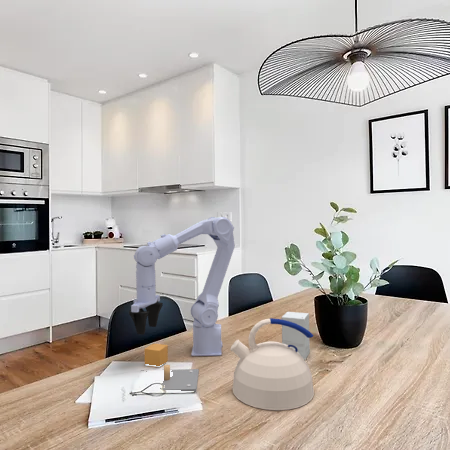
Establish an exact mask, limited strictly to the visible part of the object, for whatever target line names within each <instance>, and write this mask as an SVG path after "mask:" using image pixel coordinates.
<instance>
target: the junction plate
mask: <svg viewBox="0 0 450 450" xmlns="http://www.w3.org/2000/svg"><path fill="white" fill-rule="evenodd" d="M144 370H145V369H141V370H140V372H141V371H144ZM163 370H164V381H163V383H162V385H163V386H164V385H165V388H163V390H181V391H194V392H196V393H197V390H198V389H197V388H198V382H199V376H200V375H199V374H200V373H199V371H200V370H199V368H191V369H190V368H189V369H187V368H183V369H181V368H180V369H171V364H164V365H163ZM170 370H172V371H171V372H173V376H172V377H170ZM146 372H147V371H146ZM160 389H161V388H160Z"/></svg>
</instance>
